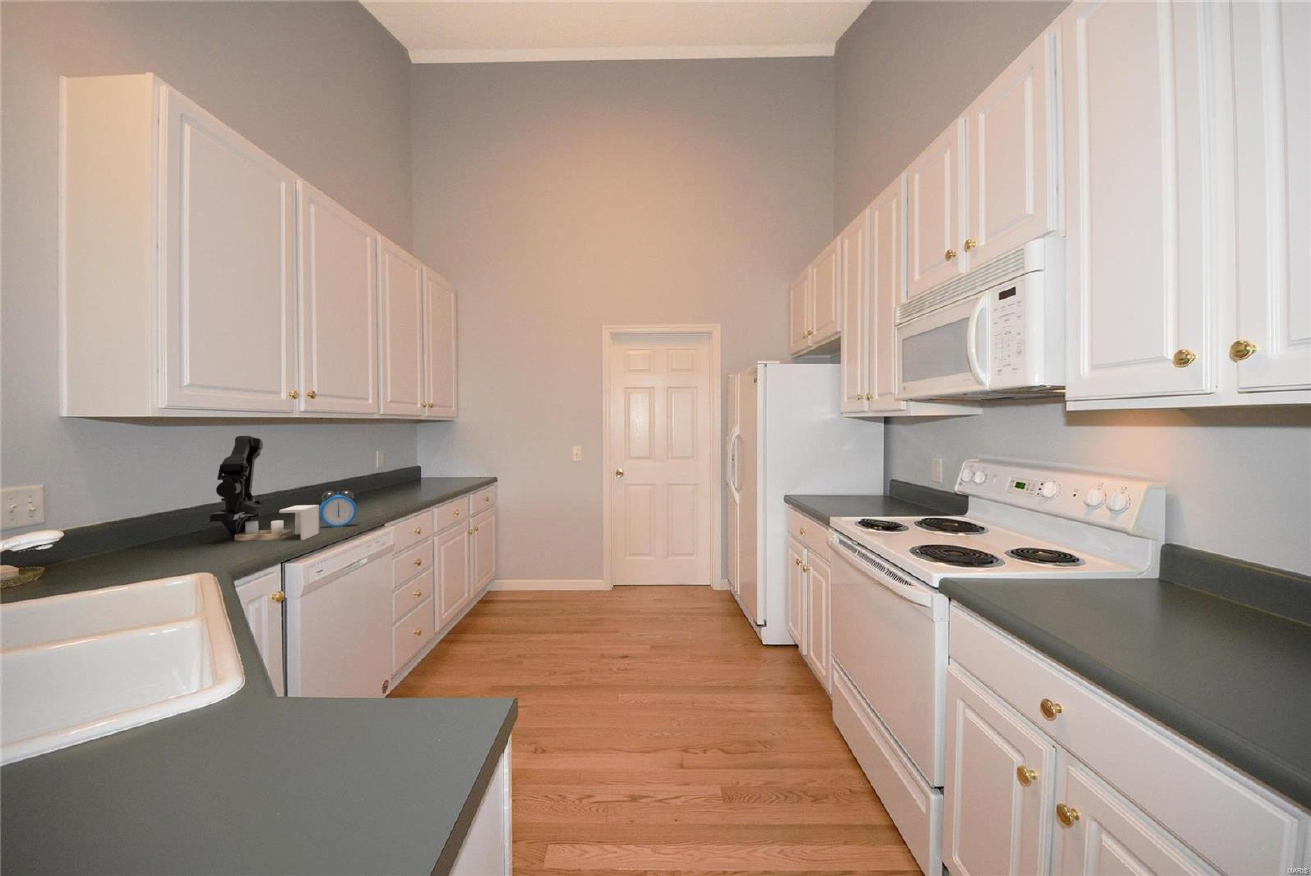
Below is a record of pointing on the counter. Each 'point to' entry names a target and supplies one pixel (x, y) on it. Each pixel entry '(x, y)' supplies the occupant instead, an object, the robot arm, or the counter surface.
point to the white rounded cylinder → (277, 527)
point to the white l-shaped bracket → (305, 519)
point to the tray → (263, 535)
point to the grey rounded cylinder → (251, 527)
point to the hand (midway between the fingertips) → (234, 537)
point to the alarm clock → (337, 509)
